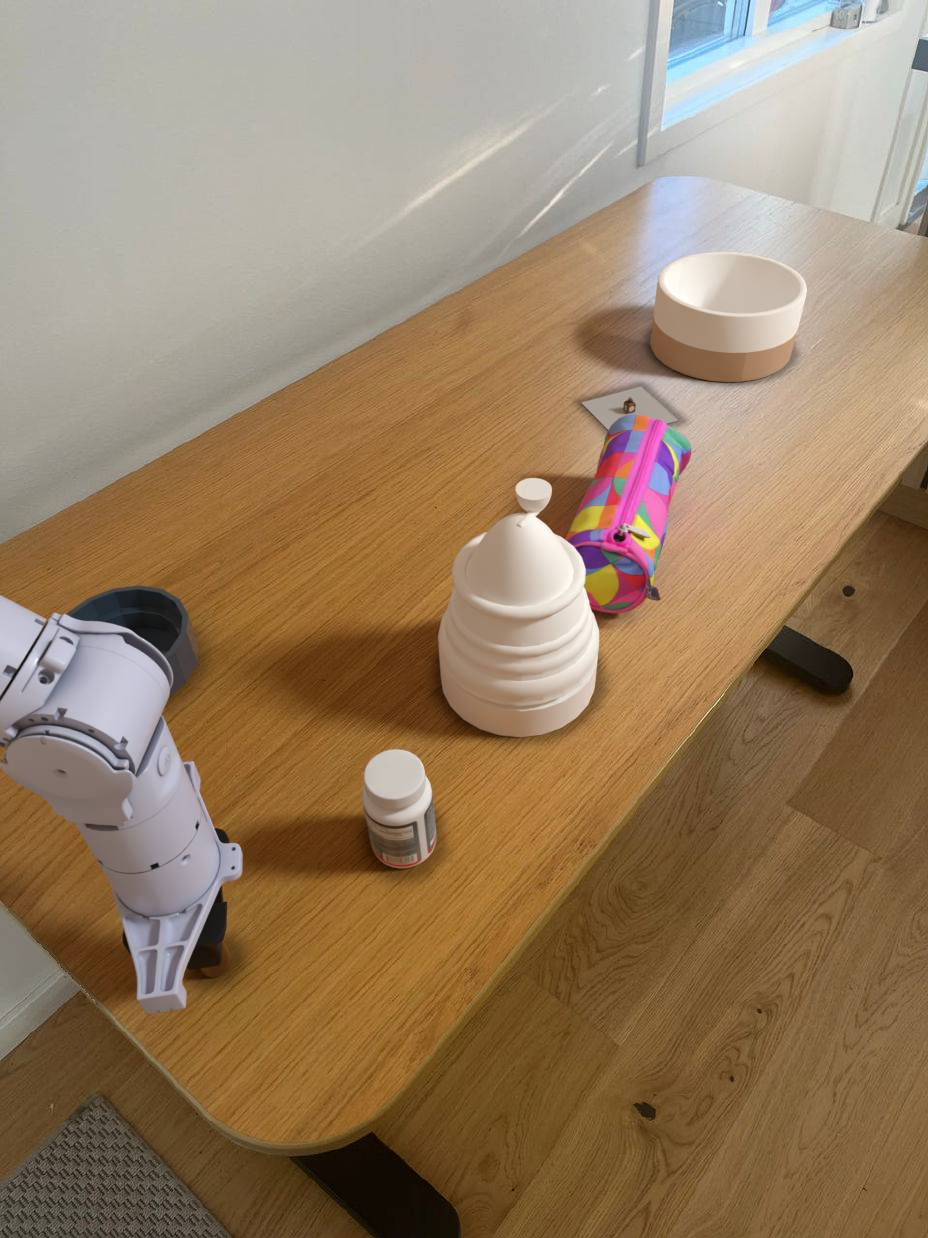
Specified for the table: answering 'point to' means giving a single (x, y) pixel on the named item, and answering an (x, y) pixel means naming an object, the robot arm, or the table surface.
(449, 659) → the honey pot
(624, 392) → the grey flat square sheet
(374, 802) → the pill bottle
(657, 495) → the pencil case
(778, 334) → the bowl
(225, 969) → the stirring stick
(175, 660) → the mixing bowl
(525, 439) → the table surface
